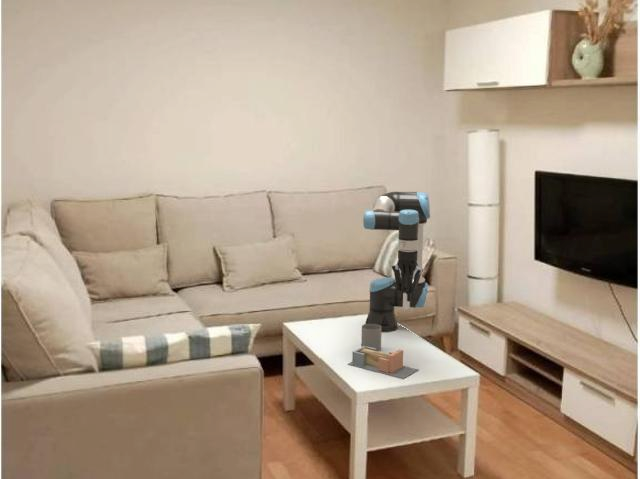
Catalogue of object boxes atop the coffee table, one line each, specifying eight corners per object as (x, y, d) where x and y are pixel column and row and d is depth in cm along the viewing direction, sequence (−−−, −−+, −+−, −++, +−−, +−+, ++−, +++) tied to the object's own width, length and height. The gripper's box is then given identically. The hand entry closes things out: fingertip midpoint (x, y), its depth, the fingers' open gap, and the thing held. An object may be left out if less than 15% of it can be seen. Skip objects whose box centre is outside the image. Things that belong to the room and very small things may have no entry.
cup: (379, 352, 313) (379, 330, 311) (360, 351, 315) (360, 328, 313) (381, 346, 321) (382, 324, 319) (363, 345, 323) (363, 323, 321)
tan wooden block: (364, 360, 303) (364, 348, 302) (396, 368, 294) (396, 356, 294) (359, 362, 300) (359, 351, 299) (391, 370, 291) (391, 358, 290)
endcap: (390, 363, 299) (391, 347, 298) (403, 366, 296) (403, 350, 294) (378, 370, 292) (378, 353, 290) (391, 373, 288) (391, 356, 287)
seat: (364, 356, 308) (364, 344, 307) (418, 370, 293) (419, 357, 292) (347, 364, 299) (347, 352, 298) (403, 379, 284) (403, 365, 283)
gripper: (388, 249, 288) (386, 308, 292) (417, 253, 280) (415, 313, 284) (398, 246, 294) (396, 304, 298) (427, 250, 286) (425, 309, 290)
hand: (406, 308), depth 291 cm, fingers closed
